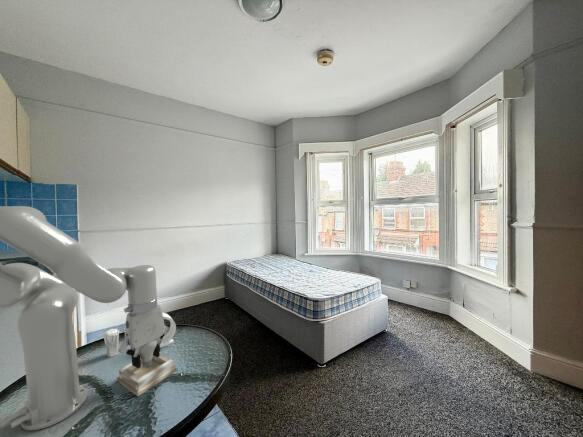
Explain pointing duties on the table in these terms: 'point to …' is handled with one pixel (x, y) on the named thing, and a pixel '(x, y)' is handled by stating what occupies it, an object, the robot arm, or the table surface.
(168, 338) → the white curved piece
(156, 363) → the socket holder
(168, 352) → the table surface
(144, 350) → the lightbulb
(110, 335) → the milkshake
